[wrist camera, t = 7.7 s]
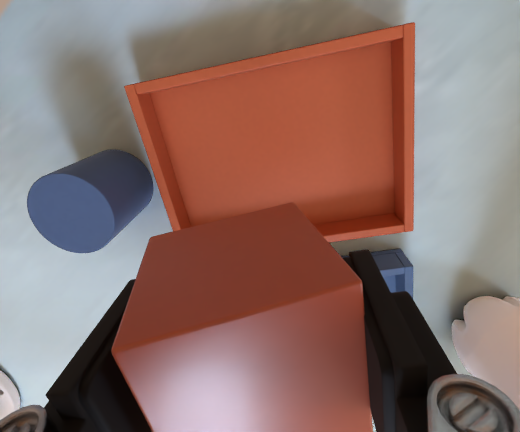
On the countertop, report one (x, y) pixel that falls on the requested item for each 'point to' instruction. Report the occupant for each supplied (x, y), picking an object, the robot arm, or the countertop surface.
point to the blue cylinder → (90, 200)
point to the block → (246, 330)
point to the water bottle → (491, 342)
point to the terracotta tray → (289, 135)
